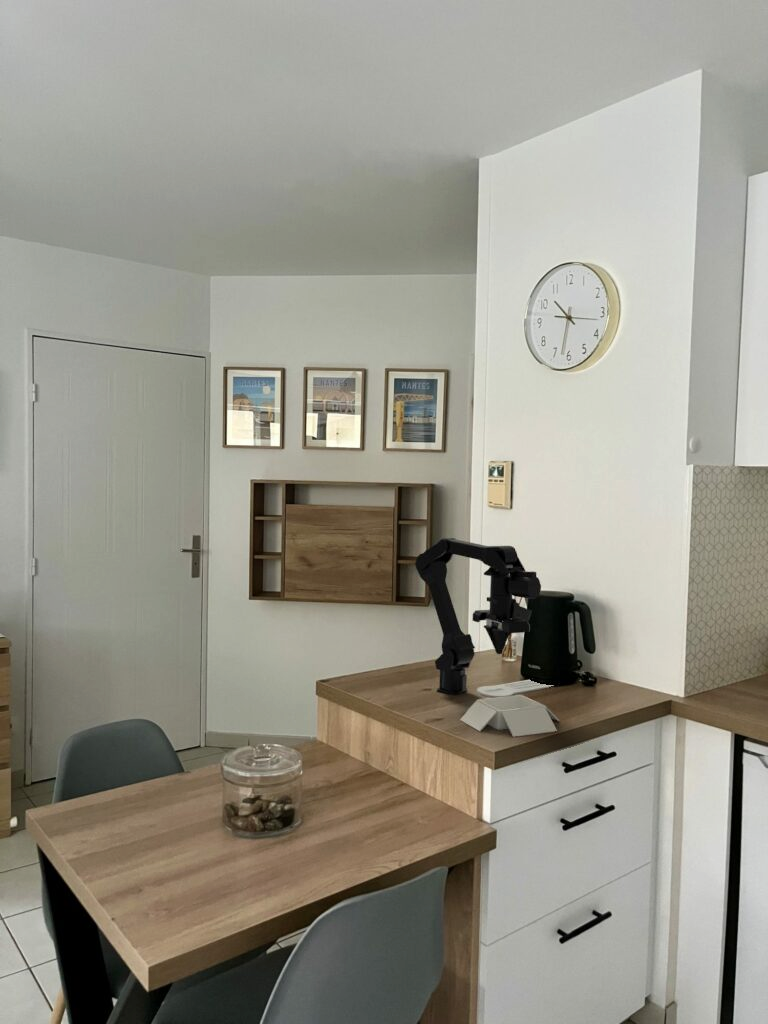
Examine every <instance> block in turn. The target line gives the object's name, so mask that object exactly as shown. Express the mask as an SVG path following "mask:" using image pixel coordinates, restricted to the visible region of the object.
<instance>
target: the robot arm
mask: <svg viewBox="0 0 768 1024" xmlns="http://www.w3.org/2000/svg"><path fill="white" fill-rule="evenodd" d="M454 555H455V556H460V557H465V558H468V559H473V560H478V561H480V562H482V563H483V564H484V565H485V566H488V569H486V571H484V572H483V575H484V576H488V577H489V576H490V586H489V587H490V588H489V589H490V590H489V592H490V593H489V596H487V597H486V602H489V609H477V610H475V611H473V613H472V620H471V621H472V622H476V623H480V622H481V621H486V625H483V628H484V629H485V630H486V633H487V635H488V637H489V640H490V641H491V643H492V647H493V648H494V650H495V653H496V654H497V655H502V654H503V651H504V648H505V645H506V643H507V640H508V639H509V637H510V635H511V634H520V633H521V634H523V633H530V631H531V624H530V623H529V621H530V618H531V614H532V612H533V611H532V610H531V609H529V608H525V607H523V606H520V603H519V602H518V601H517V600H516V598H513V597H517V598H522V599H529V600H530V599H531V600H535V599H537V598H539V595H540V594H541V590H542V584H541V581H540V579H539V577H538V576H537V571H526V568H525V567H524V565H523V564H522V562H521V560H520V558H519V556H518V552H517V550H516V548H515V547H514V546H512V545H485V544H484V545H483V544H479V543H475V542H470V541H465V540H459V539H456V538H454V537H447V538H442V539H439V541H438V542H437V543H435V544H434V545H433V546H431V547H429V548H428V549H426V550H425V551H423V552H422V553H420V554H418V555H417V557H416V560H415V562H414V565H415V569H416V570H417V573H418V575H419V577H420V579H421V580H422V581H423V582H424V583H425V584H426V585H427V587H428V589H429V592H430V596H431V599H432V602H433V605H434V609H435V612H436V615H437V618H438V623H439V625H440V628H441V632H442V635H443V636H442V641H441V652H442V654H441V655H439V657H438V658H436V659H435V660H434V664H435V667H436V668H435V669H436V670H439V687H438V688H436V692H440V693H441V692H442V693H446V694H452V695H460V694H462V693H464V692H465V691H467V690H468V688H467V681H468V680H467V674H466V668H467V669H468V668H469V667H470V665H471V662H472V661H473V659H474V656H475V649H476V647H475V645H474V643H473V639H472V636H471V634H470V633H468V634H465V633H464V632H463V631H462V630H461V627H460V624H459V620H458V618H457V614H456V610H455V608H454V605H453V602H452V598H451V595H450V591H449V588H448V585H447V582H446V579H447V575H448V574H447V573H448V568H447V564H448V563H449V562H450V561H451V560H452V558H453V556H454Z"/></svg>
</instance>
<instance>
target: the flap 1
mask: <svg viewBox="0 0 768 1024" xmlns="http://www.w3.org/2000/svg"><path fill="white" fill-rule="evenodd" d="M473 704H474V705H473ZM473 704H472V705H473V706H472V705H471V706H472V707H471V706H470V707H471V708H470V707H469V708H470V709H469V708H468V709H469V710H468V709H467V710H468V711H467V710H466V712H465V713H464V715H463V716H461V718H460V722H462V723H464V724H466V725H468V726H469V727H472V728H473V729H474V730H477V731H478V732H481V731H482V730H483V729H484V728H485V727H486V726H487V725H488V724H487V723H488V722H489V721H490V720H491V719H492V717H493V716H494V715H495V714H496V713H497V711H495V710H493V709H491V708H489V707H487V706H485V705H483V704H482V703H480V702H478V701H477V700H476V701H475V702H474V703H473Z"/></svg>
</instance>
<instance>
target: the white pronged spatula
mask: <svg viewBox="0 0 768 1024" xmlns="http://www.w3.org/2000/svg"><path fill="white" fill-rule="evenodd" d="M551 686H554V685H546V684H540V683H537V682H534V681H531V680H530V679H525V680H518V681H514V682H507V683H501V684H497V685H495V684H494V685H483V686H479V687H477V689H476V693H477V694H478V695H481V696H484V697H487V698H497V697H507V696H514V695H518V694H519V695H520V694H523V693H529V692H533V691H540V690H544V689H545V688H546V689H550V688H549V687H551ZM551 688H552V687H551ZM546 689H545V690H546Z"/></svg>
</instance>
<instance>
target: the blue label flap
mask: <svg viewBox="0 0 768 1024" xmlns="http://www.w3.org/2000/svg"><path fill="white" fill-rule="evenodd" d="M502 714H503V717H504V719H505V721H506V723H507V725H508V727H509V729H508V730H509V732H510V734H511V735H512V737H513V738H516V736H517V737H525V736H530V735H531V736H534V735H541V734H547V733H554V732H555V731H556V732H558V729H557V728H556V726H555V723H554V722H553V719H552V718H550V716H549V714H548V712H547V710H546V708H545V707H542V708H533V709H524V710H515V711H506V712H502Z"/></svg>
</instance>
